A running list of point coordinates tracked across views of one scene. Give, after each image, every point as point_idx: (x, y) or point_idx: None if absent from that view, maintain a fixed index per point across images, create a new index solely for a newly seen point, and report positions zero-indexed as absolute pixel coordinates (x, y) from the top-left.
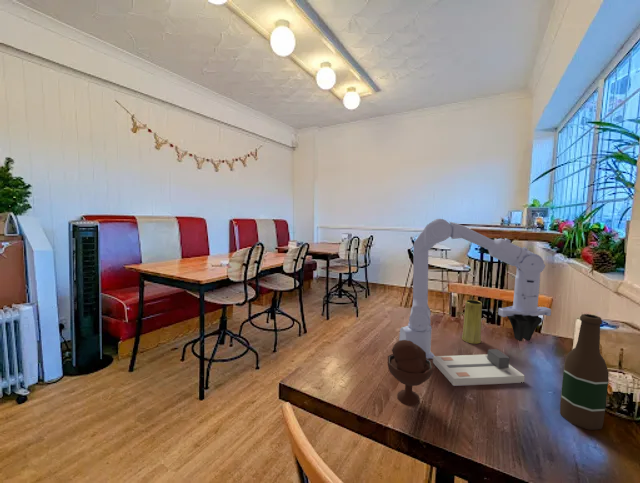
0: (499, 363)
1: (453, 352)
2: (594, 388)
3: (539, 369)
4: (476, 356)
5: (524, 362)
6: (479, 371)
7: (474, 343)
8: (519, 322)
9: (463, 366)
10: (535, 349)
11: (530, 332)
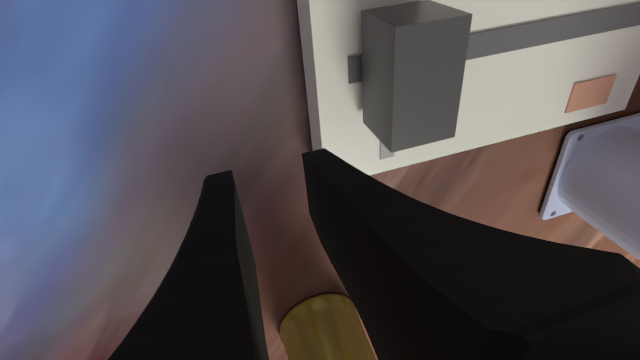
0: (442, 6)
1: (458, 200)
2: None
3: (83, 103)
4: (441, 141)
5: (149, 174)
6: None
7: (324, 294)
8: (611, 258)
9: (584, 15)
10: (4, 330)
11: (236, 227)
